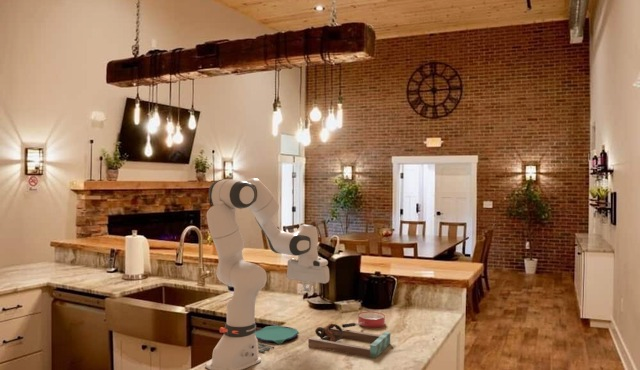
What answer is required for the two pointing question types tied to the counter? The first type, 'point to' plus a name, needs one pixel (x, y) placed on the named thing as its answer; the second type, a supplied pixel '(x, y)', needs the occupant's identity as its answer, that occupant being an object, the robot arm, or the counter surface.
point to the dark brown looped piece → (327, 332)
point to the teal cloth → (275, 335)
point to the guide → (375, 348)
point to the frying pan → (368, 320)
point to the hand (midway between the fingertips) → (307, 290)
